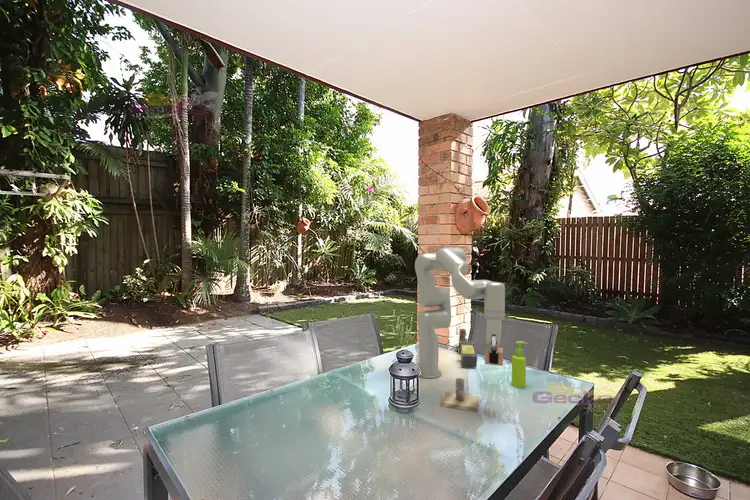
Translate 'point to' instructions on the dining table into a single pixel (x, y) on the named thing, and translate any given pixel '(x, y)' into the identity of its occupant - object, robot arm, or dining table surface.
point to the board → (459, 404)
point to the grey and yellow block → (466, 351)
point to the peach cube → (500, 356)
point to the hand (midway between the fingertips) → (493, 360)
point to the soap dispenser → (519, 366)
